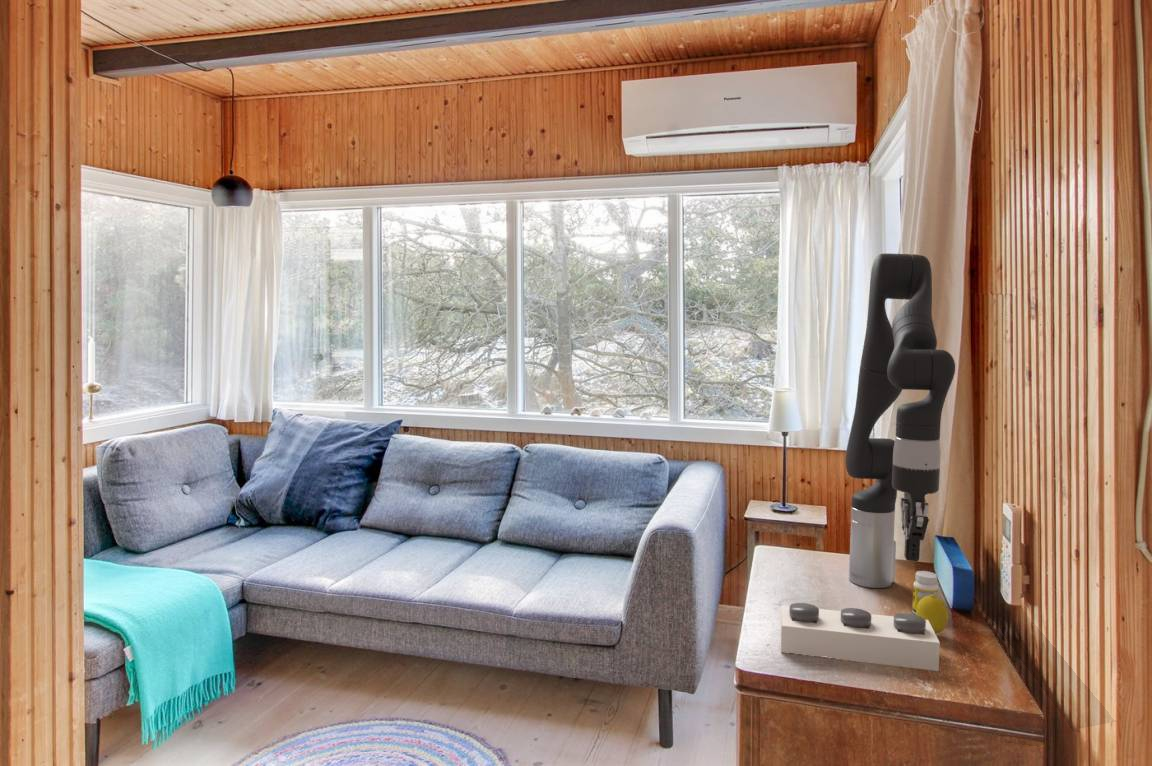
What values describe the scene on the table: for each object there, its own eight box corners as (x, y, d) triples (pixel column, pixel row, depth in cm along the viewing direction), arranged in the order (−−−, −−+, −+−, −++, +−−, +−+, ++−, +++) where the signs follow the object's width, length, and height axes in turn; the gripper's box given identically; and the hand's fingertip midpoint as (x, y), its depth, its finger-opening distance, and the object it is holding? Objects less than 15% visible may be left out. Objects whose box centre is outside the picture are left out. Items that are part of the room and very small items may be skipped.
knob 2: (895, 653, 129) (896, 623, 128) (890, 641, 134) (891, 611, 133) (927, 656, 127) (928, 626, 127) (921, 644, 132) (922, 615, 132)
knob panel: (780, 652, 132) (781, 625, 131) (780, 630, 141) (781, 605, 141) (938, 671, 125) (939, 642, 125) (926, 646, 135) (928, 619, 134)
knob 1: (788, 641, 134) (789, 612, 133) (788, 629, 139) (789, 601, 138) (818, 644, 132) (819, 615, 132) (817, 632, 137) (818, 604, 137)
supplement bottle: (915, 607, 153) (917, 568, 152) (940, 613, 150) (942, 573, 149) (909, 614, 149) (911, 574, 148) (934, 620, 146) (936, 579, 145)
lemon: (929, 643, 136) (931, 601, 135) (908, 631, 141) (910, 590, 140) (954, 640, 137) (956, 598, 137) (932, 628, 143) (934, 588, 142)
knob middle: (841, 647, 131) (842, 617, 131) (838, 635, 136) (839, 606, 136) (872, 650, 130) (873, 620, 129) (868, 638, 135) (869, 609, 134)
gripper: (948, 472, 120) (942, 574, 122) (931, 457, 133) (927, 549, 135) (898, 469, 122) (894, 570, 124) (887, 455, 135) (883, 546, 137)
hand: (911, 559), depth 129 cm, fingers closed
